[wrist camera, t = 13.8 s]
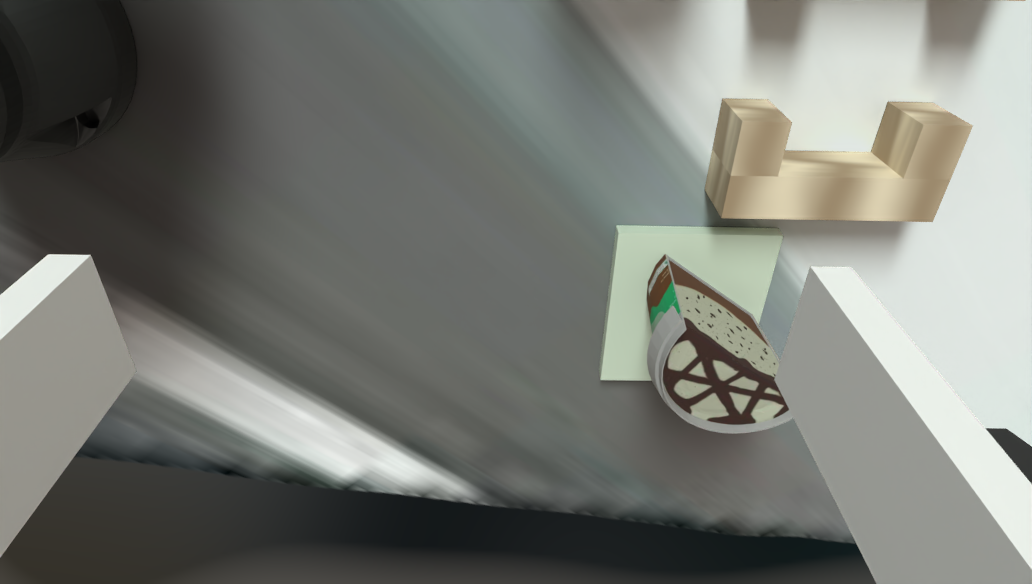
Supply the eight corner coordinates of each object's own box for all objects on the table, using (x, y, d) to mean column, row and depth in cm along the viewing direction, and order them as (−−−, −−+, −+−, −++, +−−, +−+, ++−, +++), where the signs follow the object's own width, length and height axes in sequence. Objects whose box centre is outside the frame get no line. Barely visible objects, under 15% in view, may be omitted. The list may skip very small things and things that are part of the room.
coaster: (599, 370, 56) (600, 380, 55) (616, 225, 48) (618, 233, 47) (738, 372, 56) (742, 381, 55) (777, 227, 48) (783, 235, 47)
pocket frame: (704, 189, 47) (721, 218, 43) (770, -149, 36) (801, -150, 32) (898, 192, 47) (932, 221, 43) (1025, -143, 36) (1085, -143, 32)
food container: (595, 299, 50) (612, 387, 42) (650, 243, 48) (679, 324, 39) (709, 371, 54) (745, 464, 46) (765, 323, 52) (813, 412, 43)
